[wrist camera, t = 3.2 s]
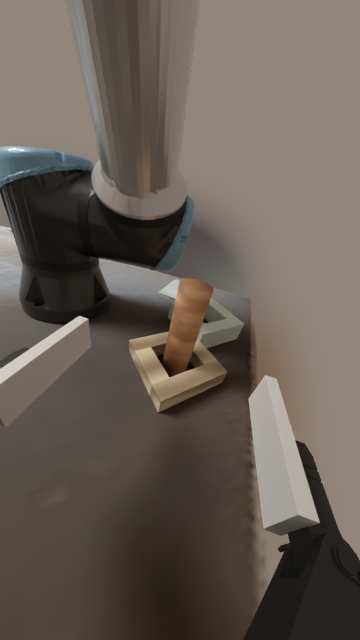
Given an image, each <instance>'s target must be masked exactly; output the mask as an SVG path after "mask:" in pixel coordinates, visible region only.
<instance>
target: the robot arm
mask: <svg viewBox="0 0 360 640" xmlns="http://www.w3.org/2000/svg"><path fill="white" fill-rule="evenodd" d="M199 3H200V0H63V5H64V9H65V13H66V17H67V22H68V25H69V30H70V34H71V39H72V43H73V47H74V51H75V56H76V60H77V64H78V68H79V73H80V77H81V81H82V85H83V90H84V94H85V98H86V102H87V107H88V111H89V115H90V119H91V124H92V128H93V132H94V136H95V141H96V145H97V149H98V154H99V158H100V160H99V161H98V162H97V163H96V165H95V167H93V164H92V162H91V161H90V160H88V159H86V158H83V157H80V156H77V155H73V154H68V153H62V152H61V153H60V152H55V151H52V150H47V149H39V148H32V147H22V146H4V147H0V193H1V196H2V200H3V203H4V206H5V209H6V212H7V216H8V219H9V222H10V225H11V228H12V232H13V235H14V238H15V241H16V244H17V247H18V251H19V254H20V257H21V260H22V264H23V269H22V277H21V285H20V293H19V298H20V301H21V304H22V307H23V310H24V311H25V313H26V314H28V315H29V316H31V317H33V318H35V319H38V320H42V321H47V322H56V323H67V322H69V323H68V324H66V325H65V326H63V327H62V328H60V329H59V330H57V331H56V332H54V333H53V334H51V335H50V336H48V337H47V338H45V339H44V340H42V341H41V342H39V343H38V344H36V345H35V346H34V347H32V348H31V349H28V348H23V349H21V350H18V351H16V352H13V353H12V354H10V355H9V356H7V357H6V358H4V360H1V361H0V425H1V426H4V427H7V426H8V425H9V424H10V423H11V422H12V421H14V420H15V419H16V418H17V417H18V416H19V415H20V414H21V413H22V412H23V411H24V410H25V409H26V408H27V407H28V406H29V405H30V404H31V403H32V402H33V401H34V400H36V399H37V398H38V397H39V396H40V395H41V394H42V393H43V392H44V391H45V390H46V389H47V388H48V387H49V386H50V385H51V384H52V383H53V382H54V381H55V380H56V379H57V378H59V377H60V376H61V375H62V374H63V373H64V372H65V371H66V370H67V369H68V368H69V367H70V366H71V365H72V364H73V363H74V362H75V361H76V360H77V359H78V358H79V357H81V356H82V355H83V354H84V353H85V352H86V351H87V350H88V349H89V348H90V347H91V340H90V330H89V318H92V317H95V316H97V315H99V314H101V313H102V312H104V311H105V310H106V309H107V308H108V306H109V303H110V296H109V290H108V287H107V285H106V282H105V280H104V277H103V275H102V272H101V270H100V267H99V258H100V259H106V260H111V261H116V262H120V263H125V264H129V265H134V266H138V267H143V268H148V269H150V270H162V271H171V270H173V269H174V268H175V267H176V266H177V265H178V263H179V261H180V259H181V256H182V254H183V251H184V248H185V245H186V239H187V238H188V235H189V232H190V228H191V224H192V219H193V214H194V200H193V199H192V198H190V197H189V196H188V195H187V182H186V179H185V177H184V175H183V173H182V172H181V170H180V169H179V168H178V167H179V159H180V152H181V144H182V136H183V128H184V120H185V112H186V104H187V97H188V89H189V88H188V87H189V80H190V73H191V65H192V57H193V50H194V42H195V34H196V26H197V18H198V10H199ZM249 407H250V416H251V425H252V433H253V442H254V451H255V460H256V469H257V478H258V486H259V495H260V504H261V513H262V522H263V529H265V530H267V531H270V532H272V533H275V534H277V535H280V536H281V535H285V534H288V536H289V541H290V543H288V544H284V545H281V546H280V547H279V548H278V550H279V552H283V551H285V552H284V554H283V556H282V558H281V560H280V562H279V564H278V567H277V569H276V571H275V573H274V575H273V577H272V580H271V582H270V584H269V586H268V588H267V590H266V592H265V595H264V597H263V599H262V601H261V603H260V605H259V607H258V610H257V612H256V614H255V616H254V618H253V620H252V623H251V625H250V627H249V629H248V631H247V633H246V635H245V638H244V640H360V560H359V559H358V557H357V555H356V553H355V552H354V551H353V549H352V548H351V547H350V545H349V544H348V543H347V542H346V541H345V540H344V539H343V538H342V536H341V534H340V532H339V529H338V527H337V524H336V521H335V518H334V516H333V513H332V510H331V507H330V505H329V502H328V499H327V496H326V493H325V490H324V487H323V485H322V483H321V479H320V476H319V473H318V472H317V467H316V465H315V462H314V459H313V456H312V455H311V453H310V451H309V450H308V448H307V447H306V445H305V444H304V443H301V442H299V441H296V440H295V438H294V435H293V432H292V428H291V425H290V422H289V418H288V415H287V412H286V409H285V405H284V402H283V398H282V395H281V392H280V389H279V385H278V382H277V379H276V378H273V377H270V376H267V375H265V376H264V377H263V379H262V380H261V382H260V383H259V385H258V386H257V387H256V389H255V390H254V392H253V393H252V395H251V396H250V397H249Z"/></svg>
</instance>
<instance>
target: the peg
mask: <svg viewBox="0 0 360 640" xmlns="http://www.w3.org/2000/svg"><path fill="white" fill-rule="evenodd" d="M212 293H213V288H212V286H210V285H209V284H207V283H205V282H203V281H200V280H197V279H190V278H186V279H182V280H180V282H179V287H178V291H177V296H176V301H175V305H174V310H173V315H172V319H171V324H170V329H169V333H168V338H167V343H166V347H165V352H164V357H163V361H162V366H163V368H164V369H165V371H166V373H167V374H168V375H169V376H171V377H172V376H175V375H177V374H180V373H183V372H185V371H186V370H187V367H188V364H189V361H190V358H191V355H192V352H193V349H194V347H195V344H196V341H197V338H198V335H199V332H200V329H201V326H202V323H203V320H204V317H205V314H206V311H207V308H208V305H209V302H210V299H211V296H212Z"/></svg>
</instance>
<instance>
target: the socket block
mask: <svg viewBox="0 0 360 640" xmlns="http://www.w3.org/2000/svg"><path fill="white" fill-rule="evenodd" d="M174 305H175V301H174V302H171V304H170V309H169V314H168V318H169V320H170V321H171V319H172V315H173V310H174ZM204 319H205V320H206V321H208V322H209V323H204V322H203V323H202V326H201V329H200V332H199V335H198V338H197V339H198V340H199V341H200V342H201V343H202V344H203V345H204V346H205V347H206V348H209V347H212V346H216V345H219V344H222V343H225V342H228V341H232V340H235V339H237V338H238V336H239V334H240V332H241V330H242V328H243V326H244V323H243V322H241V321H240V320H239V319H238V318H236V317H235V316H234V315H232V314H231V313H230V312H228V311H227V310H226V309H225V308H223V307H222V306H221V305H219V304H218V303H217V302H216V301H214V300H213V299H212V298H211V299H210V302H209V305H208V308H207V311H206V314H205V317H204Z"/></svg>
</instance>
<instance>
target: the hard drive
mask: <svg viewBox="0 0 360 640" xmlns="http://www.w3.org/2000/svg"><path fill="white" fill-rule="evenodd" d="M179 282H180V280H177V279H175V280H174V281H172V282H171V283H170V284H169V285H167V286H166V287H165V288H164V289H162V290H161V291H160V292H159V293H158V296H160V297H163V298H166V299H168V300H171V301H176V296H177V291H178V287H179Z"/></svg>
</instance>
